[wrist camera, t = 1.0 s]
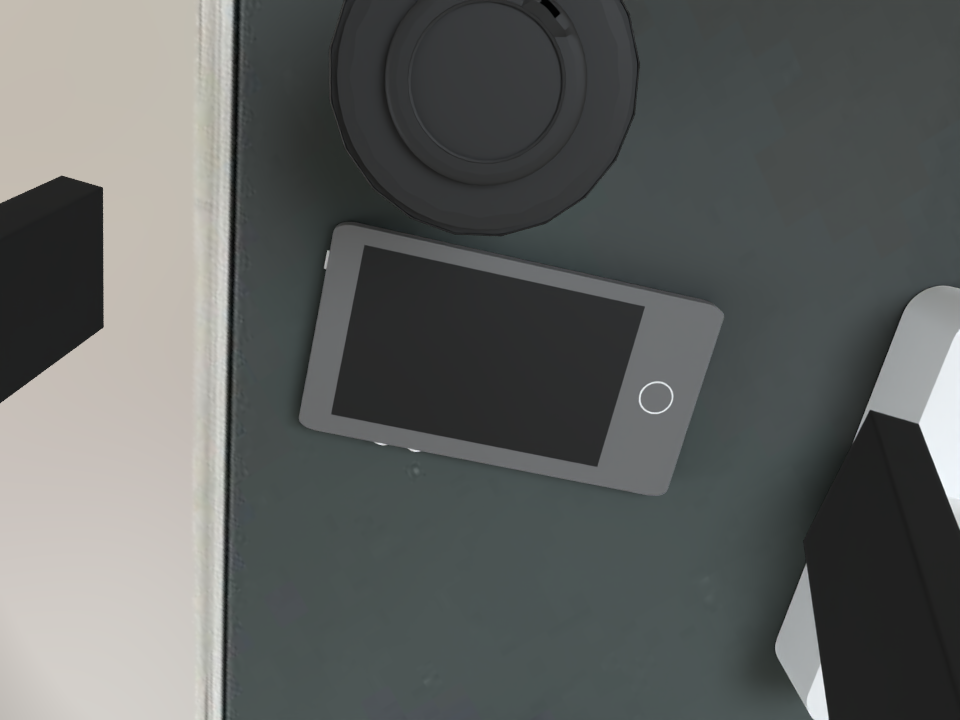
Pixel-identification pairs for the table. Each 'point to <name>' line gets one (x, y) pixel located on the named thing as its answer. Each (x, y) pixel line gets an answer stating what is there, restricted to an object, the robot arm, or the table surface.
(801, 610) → the u-slot mount
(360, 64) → the coffee cup
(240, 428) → the table surface
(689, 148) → the table surface
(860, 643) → the robot arm
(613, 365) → the smartphone
